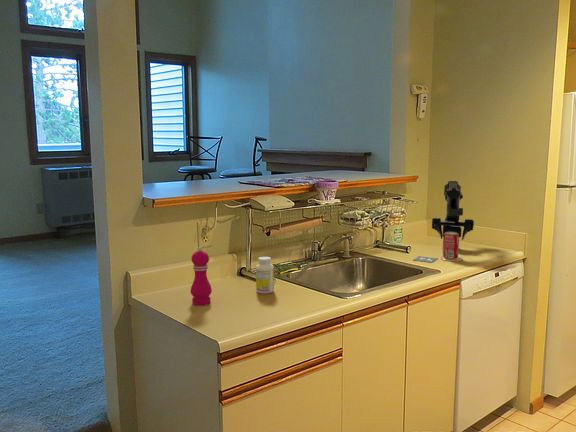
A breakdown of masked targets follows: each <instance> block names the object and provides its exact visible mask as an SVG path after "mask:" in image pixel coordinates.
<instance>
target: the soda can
mask: <svg viewBox="0 0 576 432" xmlns="http://www.w3.org/2000/svg"><path fill="white" fill-rule="evenodd" d="M458 235H459V234H458V233H457V232H445V235H444V237H443V236H442V256H443V257H444V258H445V259H456V258H458V257H459V251H460V249H459V248H460V238H459V236H458Z"/></svg>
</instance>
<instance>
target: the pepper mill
mask: <svg viewBox="0 0 576 432" xmlns="http://www.w3.org/2000/svg"><path fill="white" fill-rule="evenodd" d="M209 261H210V257H209V254H208V253H207V251H204V250H203V247H202V246H198V247H197V251H195V252H194V253H192V255H191V262H192V264H193V266H192V267H193V268H192V270H193V271H194V278H193V282H192V283H191V286H190V294H191V296H192V301H191V302H192V304H193V305H194V306H199V307H200V306H201V307H202V306H207V305H210V304H211V297H210V295H211V294H212V293H213V292H212V291H213V290H212V285H211V283H210V280H209V279H208V276H207V275H208V274H207V270H208V269H209V266H208V263H209Z"/></svg>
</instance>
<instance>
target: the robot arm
mask: <svg viewBox="0 0 576 432" xmlns="http://www.w3.org/2000/svg"><path fill="white" fill-rule="evenodd" d="M461 189H462V187H461V185H460V184H459V182H458V181H457V180H448V181H447V184H445V185H444V188H443V196H444V199H445V201H446V215H445V219H444V220H441V219H442V218H440V217H433V218H432V219H431V229H432V230H434V231H436V232H437V233H438V235H439V237H440V239H441V240H443V237H444V235H445V232H457V233H458V236H459V239H460V238H461V240H462V241H463V240H464V239H465V237H466V235H467V234H468V232H469V233H470V232H471V231H474V226H475V221H474V220H473V219H471V218H469V219H468V218H465V219H464V221H460V216H463V215H464V208H463V207H460V201H461V200H462V199H464V197H463V196H464V195H463V193H462V192H461V191H462V190H461ZM462 228H463V229H462Z"/></svg>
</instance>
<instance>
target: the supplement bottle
mask: <svg viewBox="0 0 576 432" xmlns="http://www.w3.org/2000/svg"><path fill="white" fill-rule="evenodd" d="M257 261H258V264H256V266H255V288H256V289H255V290H256V292H257V293H258V294H262V295H264V294H265V295H266V294H271V293H273V292H274V291H275V272H274V271H275V268H274V267H275V266H274V265H273V264H272V263H271V262H272V258H271V256H259V257H258V260H257Z"/></svg>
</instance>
